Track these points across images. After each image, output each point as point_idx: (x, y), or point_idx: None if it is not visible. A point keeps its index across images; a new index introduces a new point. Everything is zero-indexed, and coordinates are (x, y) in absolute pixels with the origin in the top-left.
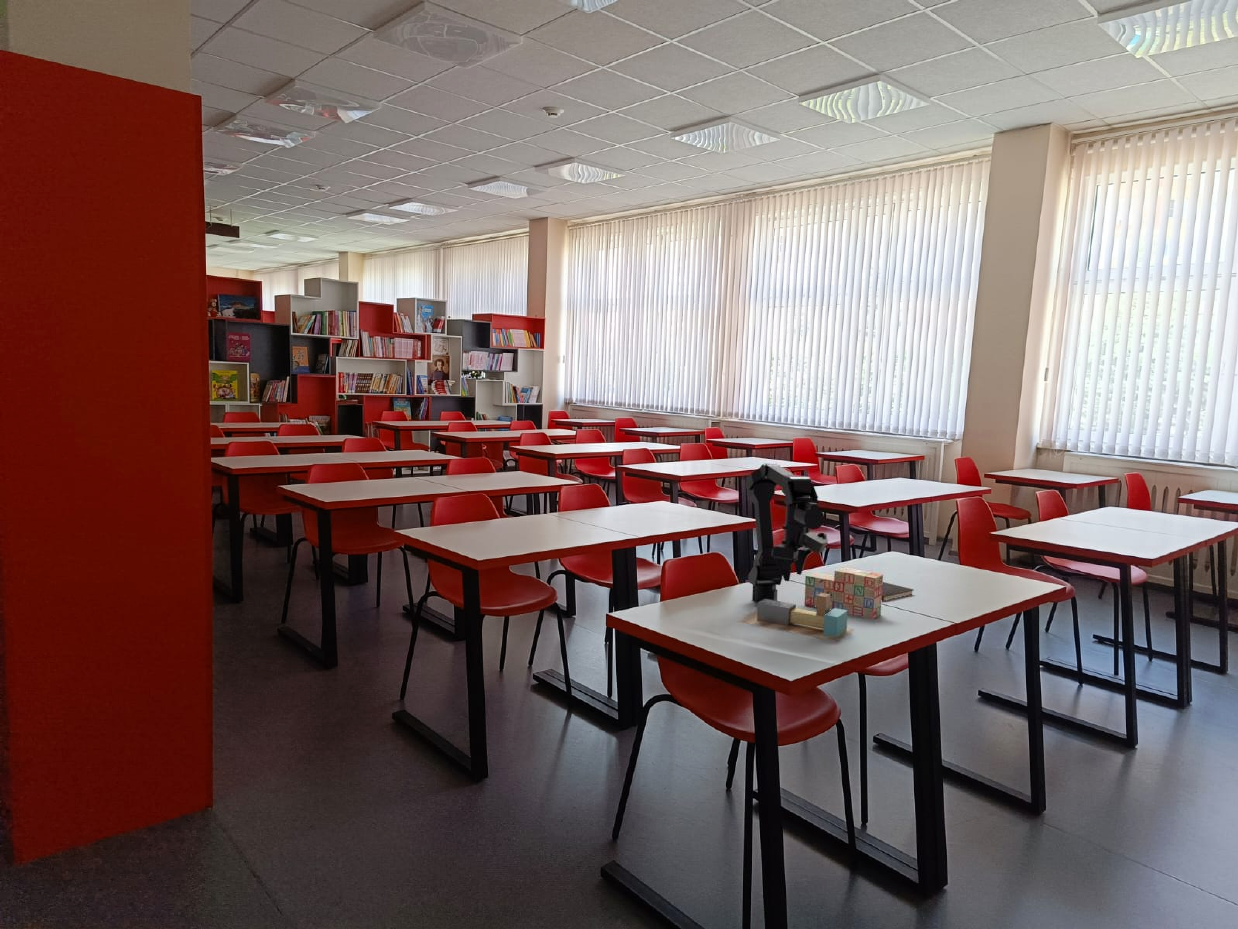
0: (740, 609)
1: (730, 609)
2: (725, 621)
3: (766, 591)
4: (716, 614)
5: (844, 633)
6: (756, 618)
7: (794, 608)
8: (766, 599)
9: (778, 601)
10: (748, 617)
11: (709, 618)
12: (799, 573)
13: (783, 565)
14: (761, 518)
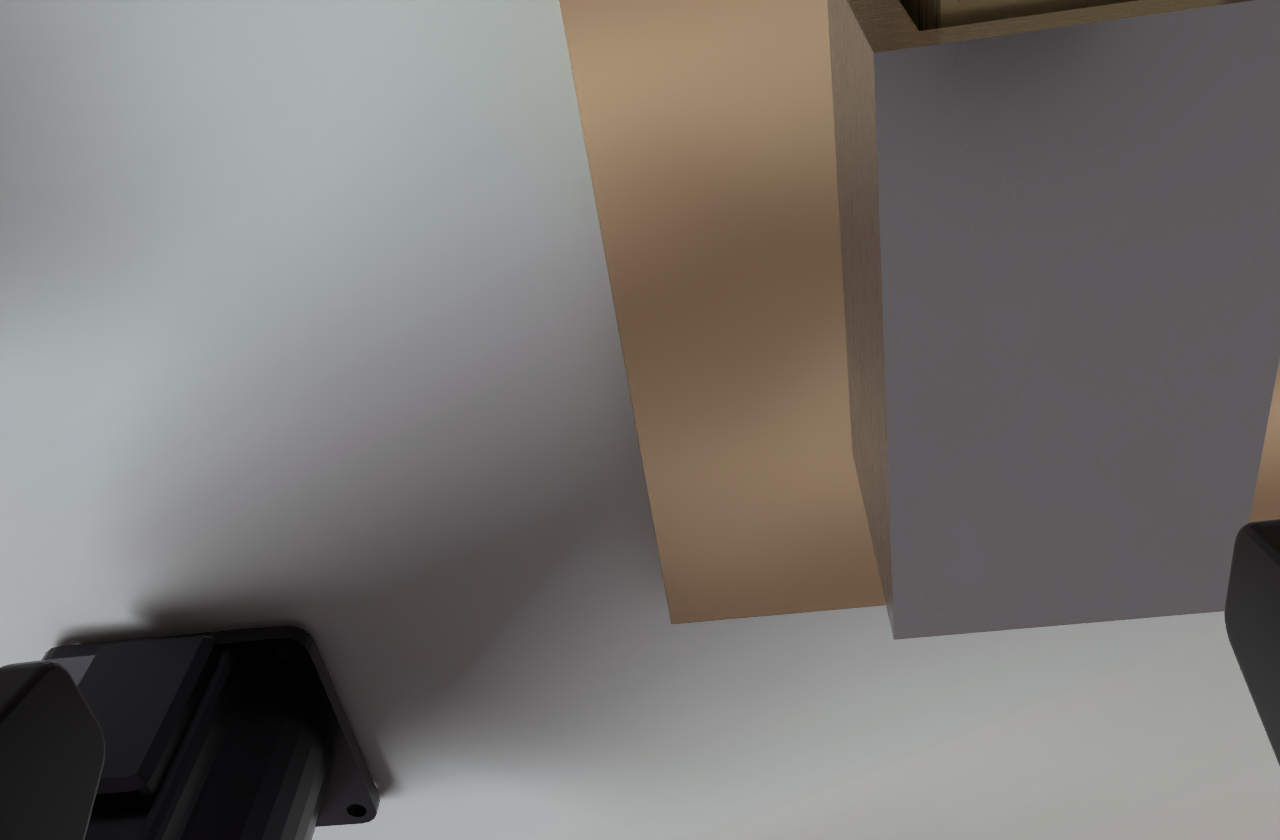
0: (638, 774)
1: (723, 827)
2: (1223, 670)
3: (223, 836)
4: (1009, 827)
5: None
6: None
7: (970, 6)
8: (927, 607)
9: (911, 416)
10: None
11: (1206, 806)
12: (61, 713)
13: None
14: None
